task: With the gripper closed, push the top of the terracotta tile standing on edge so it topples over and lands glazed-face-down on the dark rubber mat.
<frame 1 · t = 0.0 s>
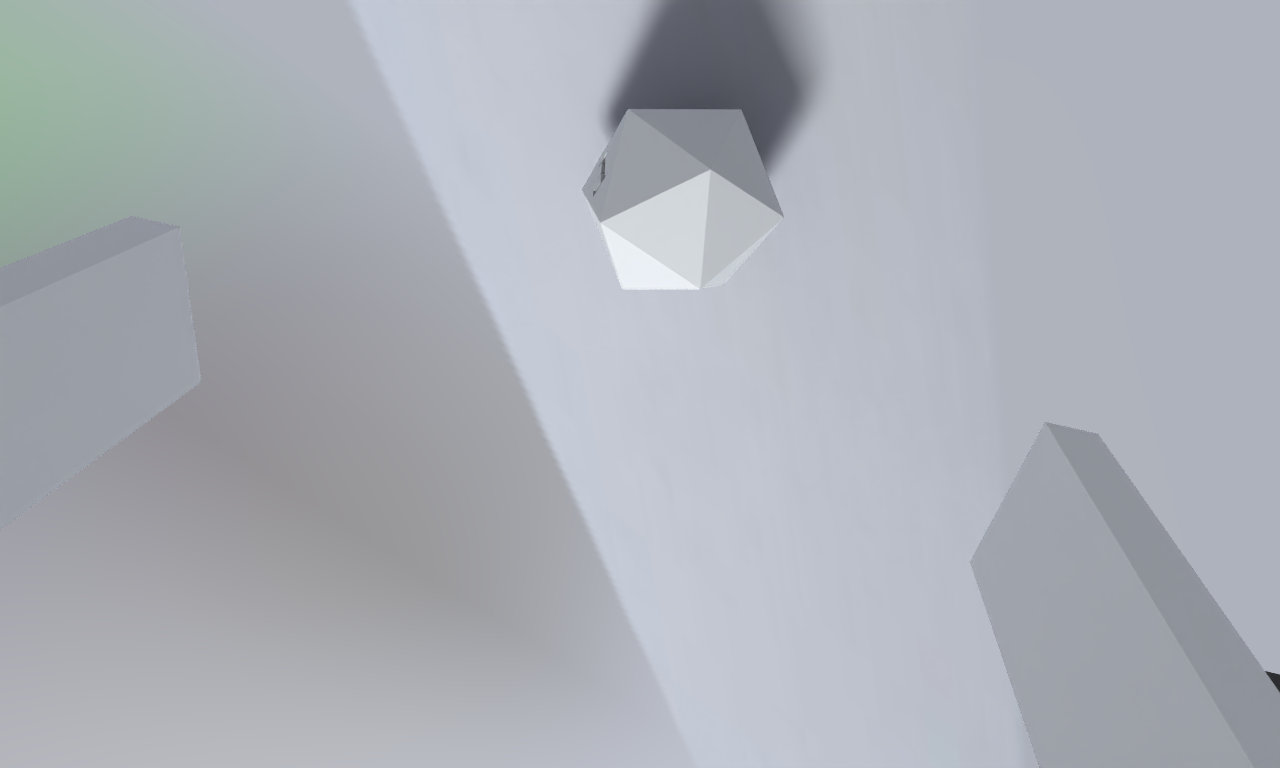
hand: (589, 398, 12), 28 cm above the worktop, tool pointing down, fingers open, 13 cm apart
die: (687, 181, 38), on the worktop
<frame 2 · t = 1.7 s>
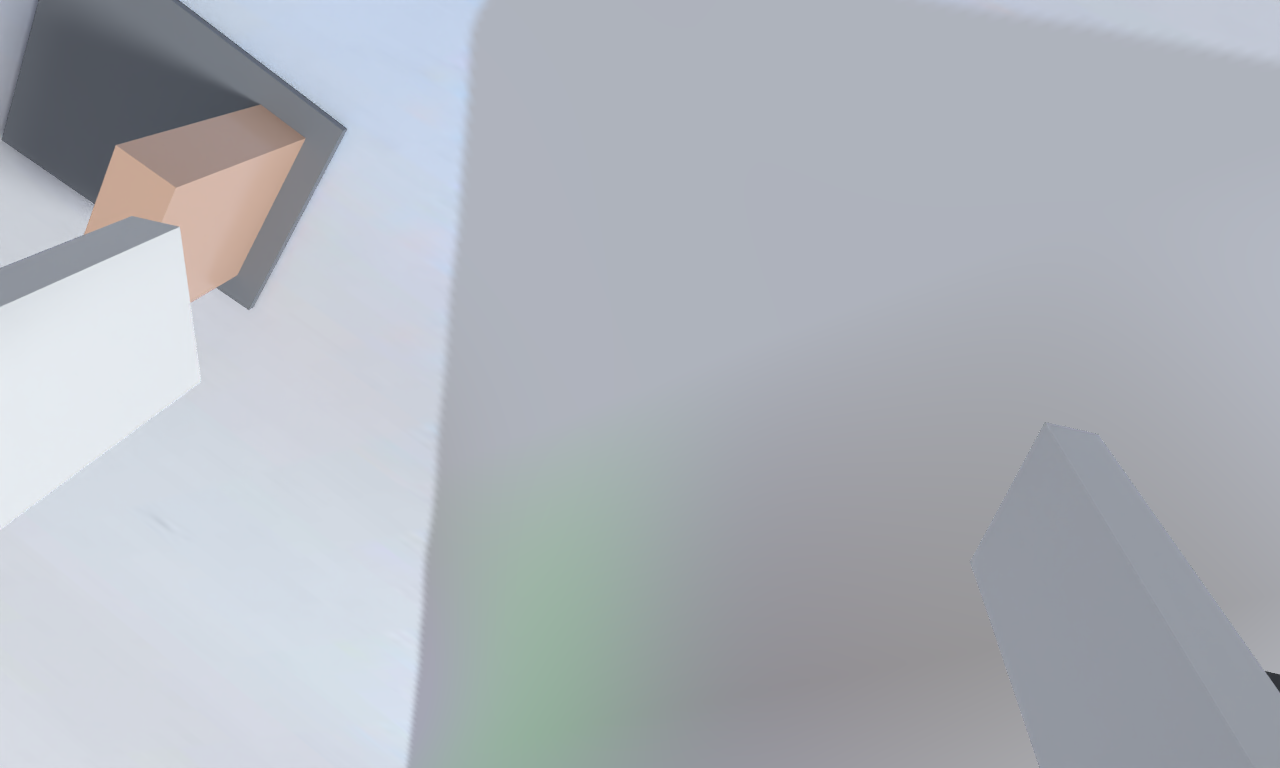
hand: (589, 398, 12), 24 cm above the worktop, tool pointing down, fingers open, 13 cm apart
tile: (248, 195, 37), resting on mat
mat: (171, 133, 37), on the worktop
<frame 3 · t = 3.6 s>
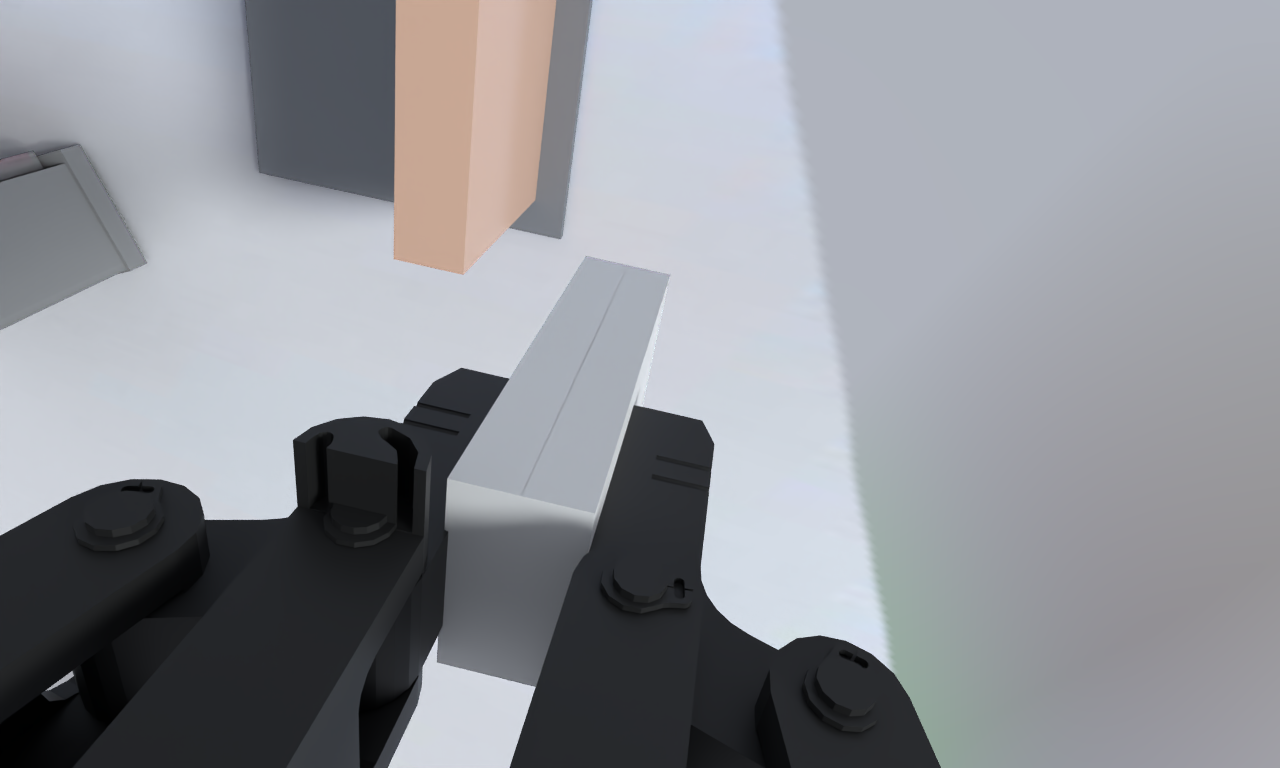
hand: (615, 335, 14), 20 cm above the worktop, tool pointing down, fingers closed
tile: (517, 86, 31), resting on mat
mat: (415, 62, 31), on the worktop
cassette tape recorder: (12, 228, 38), on the worktop
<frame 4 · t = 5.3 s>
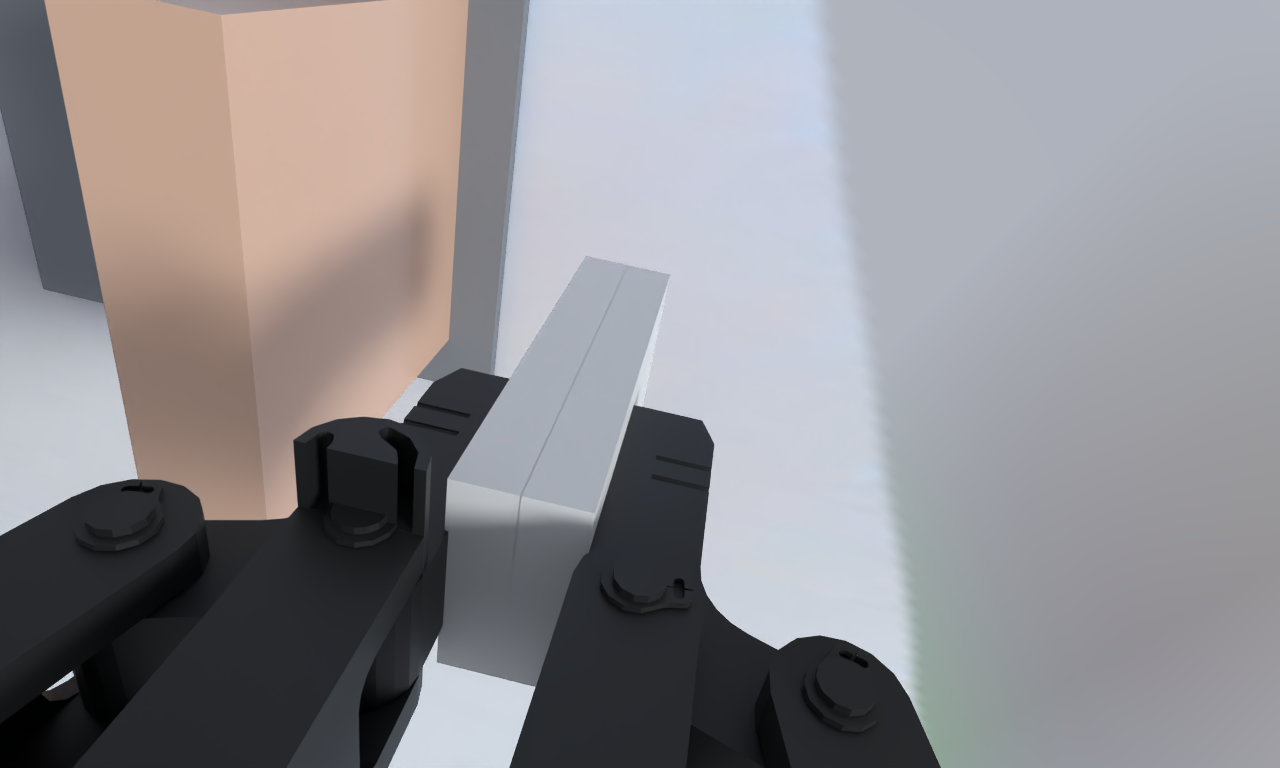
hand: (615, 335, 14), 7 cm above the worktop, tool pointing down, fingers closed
tile: (412, 176, 19), resting on mat
mat: (255, 135, 20), on the worktop
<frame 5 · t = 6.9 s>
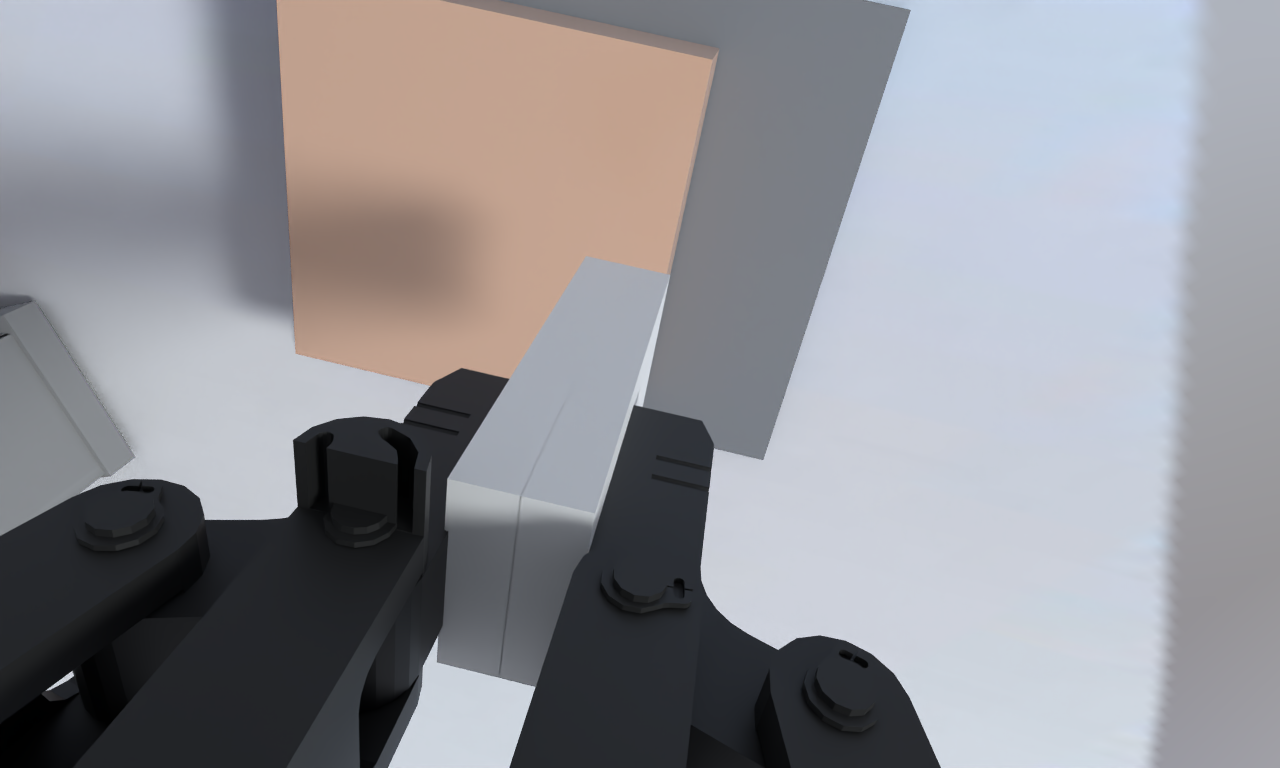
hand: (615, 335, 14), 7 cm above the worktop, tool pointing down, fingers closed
tile: (672, 253, 18), point 2 cm above the worktop, tilted 90°, touching mat
mat: (560, 205, 20), on the worktop
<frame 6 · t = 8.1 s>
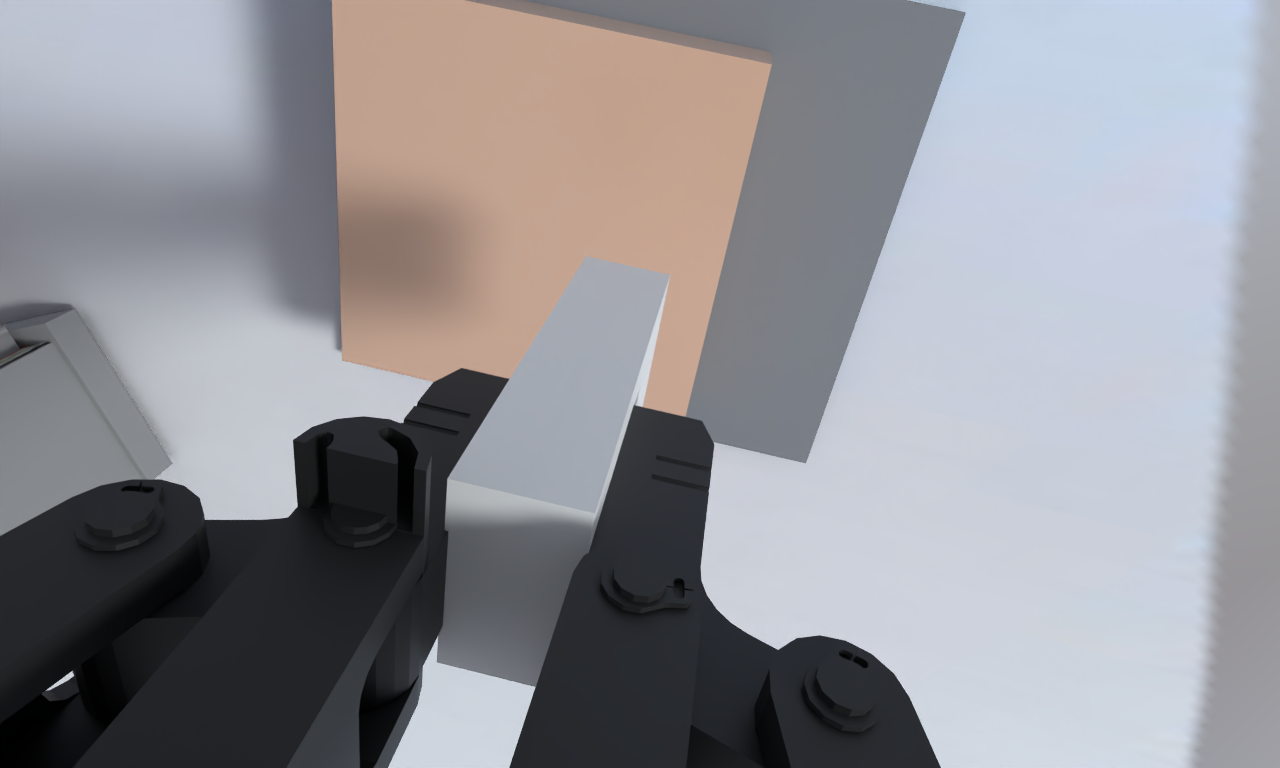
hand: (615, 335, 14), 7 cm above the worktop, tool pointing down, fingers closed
tile: (722, 258, 18), point 2 cm above the worktop, tilted 90°, touching mat
mat: (605, 209, 20), on the worktop
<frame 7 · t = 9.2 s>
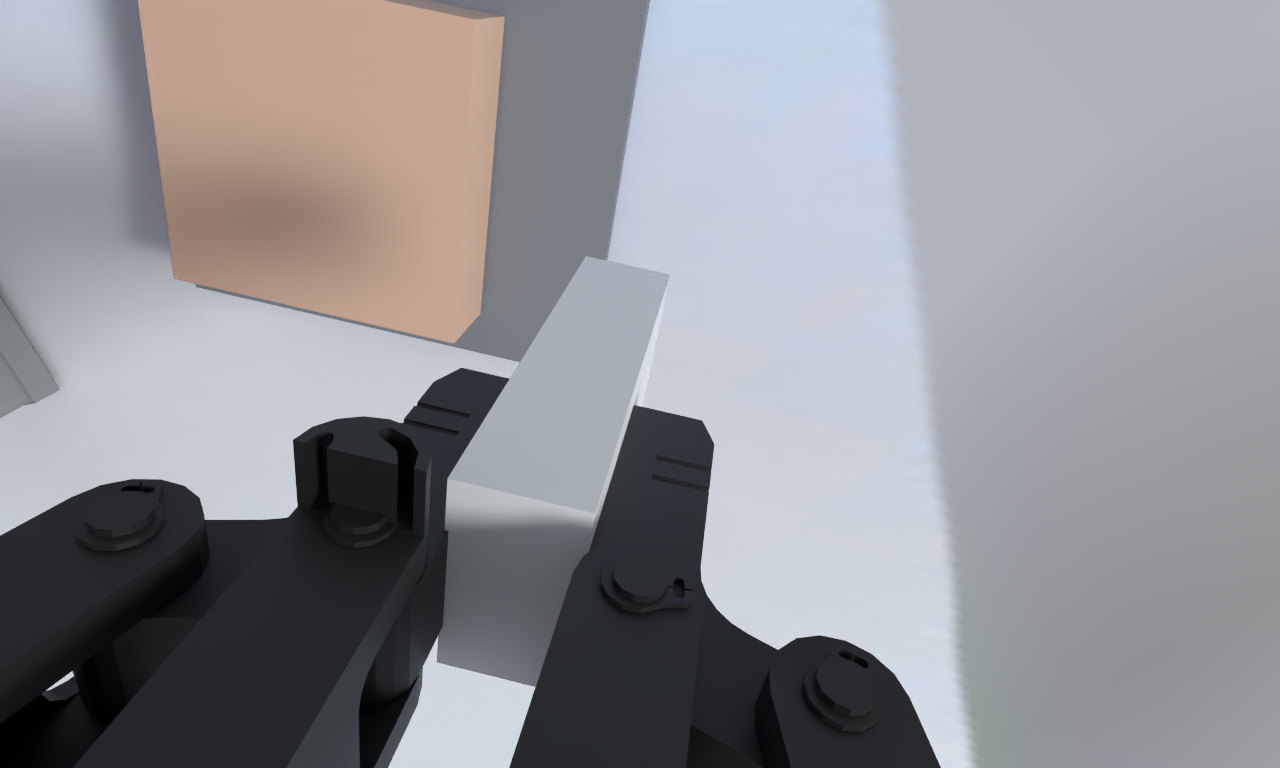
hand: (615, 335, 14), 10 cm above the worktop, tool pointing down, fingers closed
tile: (478, 188, 22), point 2 cm above the worktop, tilted 90°, touching mat
mat: (397, 153, 23), on the worktop
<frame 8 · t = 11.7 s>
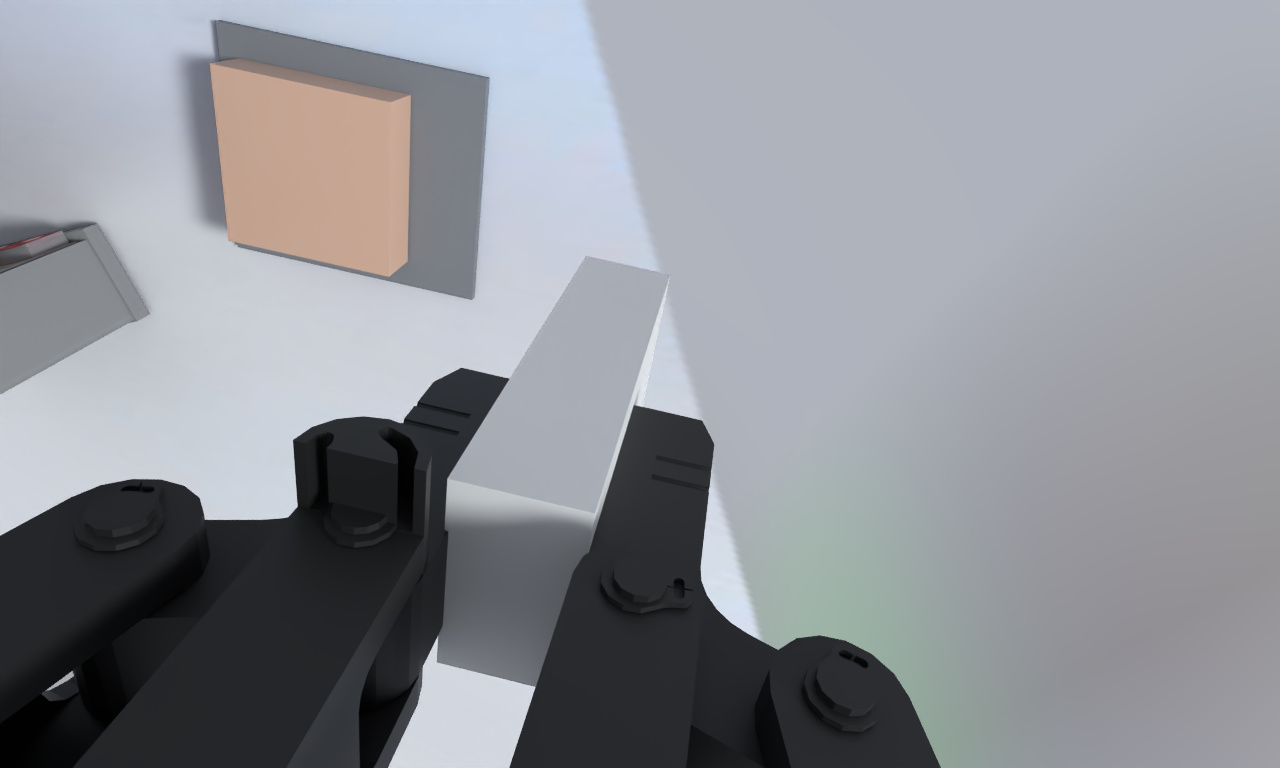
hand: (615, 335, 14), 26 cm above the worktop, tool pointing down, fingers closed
tile: (399, 188, 39), point 2 cm above the worktop, tilted 90°, touching mat
mat: (355, 167, 41), on the worktop
cassette tape recorder: (42, 285, 48), on the worktop
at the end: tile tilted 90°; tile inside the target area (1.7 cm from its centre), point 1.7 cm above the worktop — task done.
